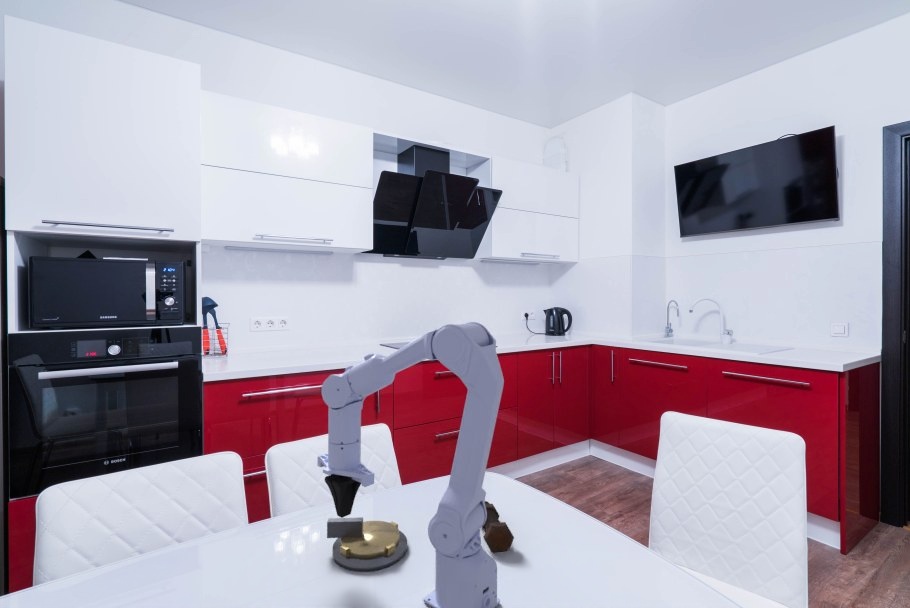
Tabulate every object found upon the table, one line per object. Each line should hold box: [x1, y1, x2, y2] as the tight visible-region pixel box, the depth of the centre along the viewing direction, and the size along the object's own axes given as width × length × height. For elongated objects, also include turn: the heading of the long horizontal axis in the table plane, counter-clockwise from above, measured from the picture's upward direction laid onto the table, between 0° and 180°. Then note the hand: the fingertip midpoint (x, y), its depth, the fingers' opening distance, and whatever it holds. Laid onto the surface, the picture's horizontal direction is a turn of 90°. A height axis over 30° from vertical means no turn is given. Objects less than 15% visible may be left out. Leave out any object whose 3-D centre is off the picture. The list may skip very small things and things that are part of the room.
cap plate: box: [332, 530, 408, 573], centre depth 86 cm, size 14×14×1 cm
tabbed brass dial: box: [326, 516, 400, 559], centre depth 86 cm, size 12×12×4 cm
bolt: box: [482, 500, 515, 554], centre depth 93 cm, size 6×5×15 cm
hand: (344, 514), depth 81 cm, fingers closed
